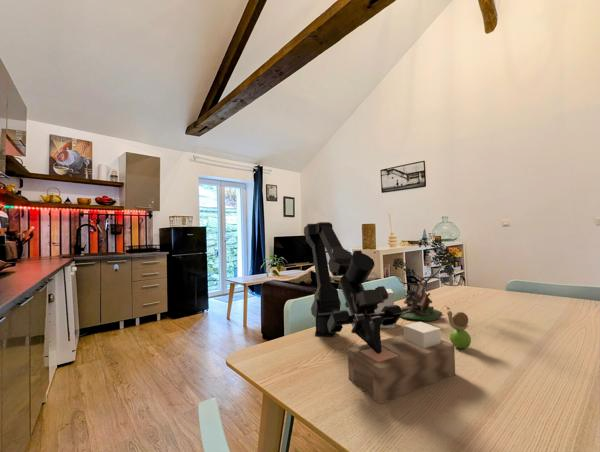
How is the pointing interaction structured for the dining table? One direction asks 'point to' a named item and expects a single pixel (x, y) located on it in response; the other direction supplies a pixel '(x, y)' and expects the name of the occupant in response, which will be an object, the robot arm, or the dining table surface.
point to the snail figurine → (459, 329)
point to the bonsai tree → (420, 301)
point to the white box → (422, 334)
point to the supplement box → (386, 303)
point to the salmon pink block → (379, 354)
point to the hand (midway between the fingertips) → (379, 352)
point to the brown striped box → (400, 368)
